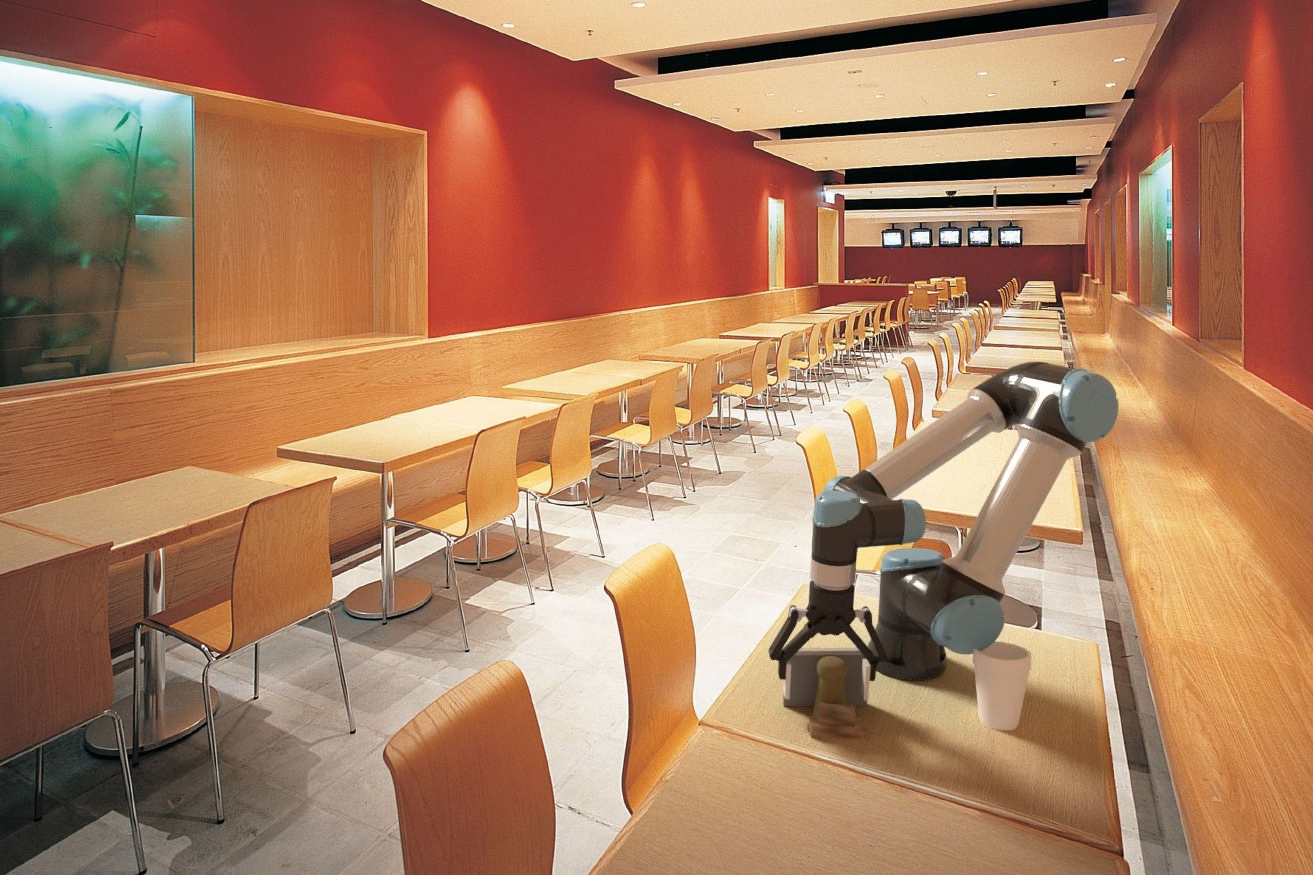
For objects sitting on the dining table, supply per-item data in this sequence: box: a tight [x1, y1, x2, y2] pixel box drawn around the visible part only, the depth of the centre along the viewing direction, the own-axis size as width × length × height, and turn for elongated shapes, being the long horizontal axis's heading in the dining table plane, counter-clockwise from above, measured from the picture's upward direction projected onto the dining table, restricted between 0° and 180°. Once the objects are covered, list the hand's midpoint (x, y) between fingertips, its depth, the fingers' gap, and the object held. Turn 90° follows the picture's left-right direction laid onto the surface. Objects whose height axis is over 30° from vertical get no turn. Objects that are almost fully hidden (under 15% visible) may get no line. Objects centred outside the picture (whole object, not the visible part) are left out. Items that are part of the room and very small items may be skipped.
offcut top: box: [818, 703, 856, 727], centre depth 146 cm, size 6×2×2 cm, turn 80°
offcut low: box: [808, 716, 866, 739], centre depth 146 cm, size 9×3×2 cm, turn 89°
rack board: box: [782, 646, 869, 707], centre depth 154 cm, size 15×1×11 cm, turn 91°
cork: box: [811, 656, 847, 718], centre depth 150 cm, size 6×6×11 cm
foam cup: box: [972, 641, 1032, 732], centre depth 149 cm, size 10×9×13 cm
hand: (825, 696), depth 151 cm, fingers open, 13 cm apart
